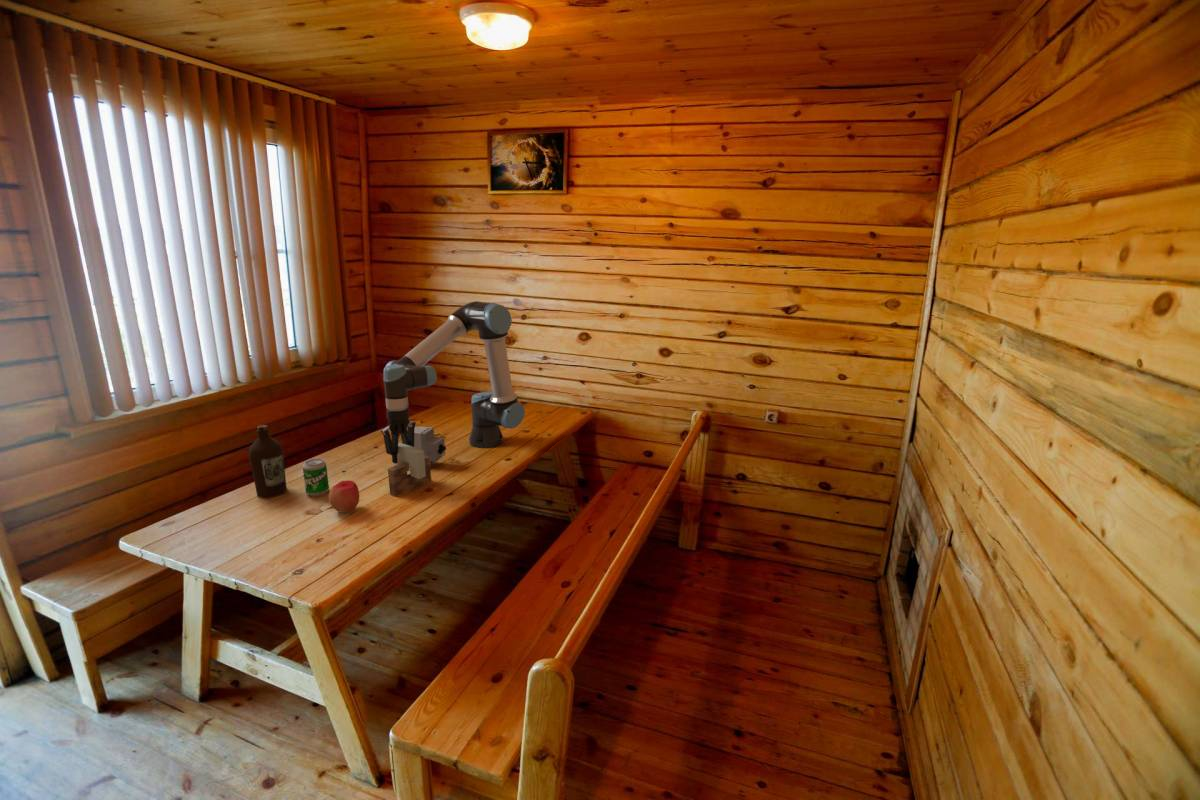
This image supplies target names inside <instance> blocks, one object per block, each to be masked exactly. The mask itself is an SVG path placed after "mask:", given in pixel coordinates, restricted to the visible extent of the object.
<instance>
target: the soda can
mask: <svg viewBox="0 0 1200 800" xmlns="http://www.w3.org/2000/svg"><path fill="white" fill-rule="evenodd" d="M302 471H303V481H304V487H305V494H306V495H309V497H320V496H321V497H322V496H324V495H326V494H327V493H328V491H329V490H330V485H329V477H328V468H327V463H326V462H325V460H323V459H322V458H321V459H320V458H313V459H308V460H307V461H305V462H304V464H303V465H302Z"/></svg>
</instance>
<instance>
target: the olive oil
mask: <svg viewBox="0 0 1200 800" xmlns="http://www.w3.org/2000/svg"><path fill="white" fill-rule="evenodd" d="M256 429H257V430H256V431H257V438H256V439H255V441H253V443H252V444H251V445H250V446H249V450H248V459H249V462H250V463H249V464H250V468H251V473H252V476H253V482H254V487H255V492H256V496H257V497H260V498H262V499H263V498H265V499H267V498H274V497H278V496H281V495H283V494H285V493H286V491H287V489H288V488H287V480H286V468H285V456H284V455H285V453H284V448H283V446H282V444H281V443H280V442H279V441H277V439H275V438H273V437H272V436H270V434H269V433H270V431H269V429H268V425H266V424H262V425H258V426H257V427H256Z"/></svg>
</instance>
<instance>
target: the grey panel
mask: <svg viewBox="0 0 1200 800" xmlns="http://www.w3.org/2000/svg"><path fill="white" fill-rule="evenodd" d="M398 454H399V455H400V464H403V465H406V466H407V472H409V474H410V476H412V477H414V478H417V479H421V478H423V477H426V472H425V457H424V450H421V449H418V448H415V447H412V446H409V445H406V444H403V443H402V442H399V441H398ZM409 463H410V467H409Z"/></svg>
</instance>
